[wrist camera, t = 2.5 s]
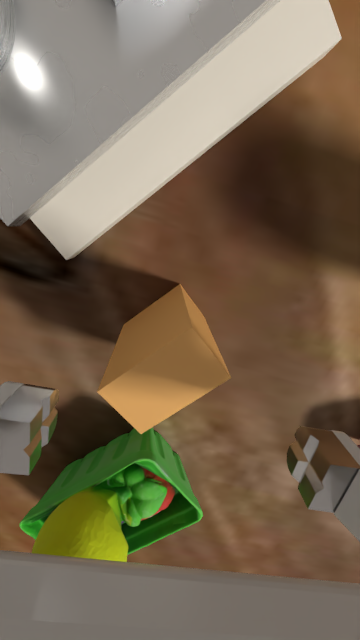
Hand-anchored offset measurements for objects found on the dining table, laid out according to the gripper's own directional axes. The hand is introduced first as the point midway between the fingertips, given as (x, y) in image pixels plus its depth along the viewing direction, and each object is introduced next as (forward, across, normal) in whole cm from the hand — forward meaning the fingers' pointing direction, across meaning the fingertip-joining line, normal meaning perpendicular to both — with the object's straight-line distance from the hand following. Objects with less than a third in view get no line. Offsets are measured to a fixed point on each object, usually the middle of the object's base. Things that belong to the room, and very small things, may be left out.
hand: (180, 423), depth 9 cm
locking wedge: (+11, +1, 0) cm, 11 cm away
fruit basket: (+11, +2, +14) cm, 18 cm away
